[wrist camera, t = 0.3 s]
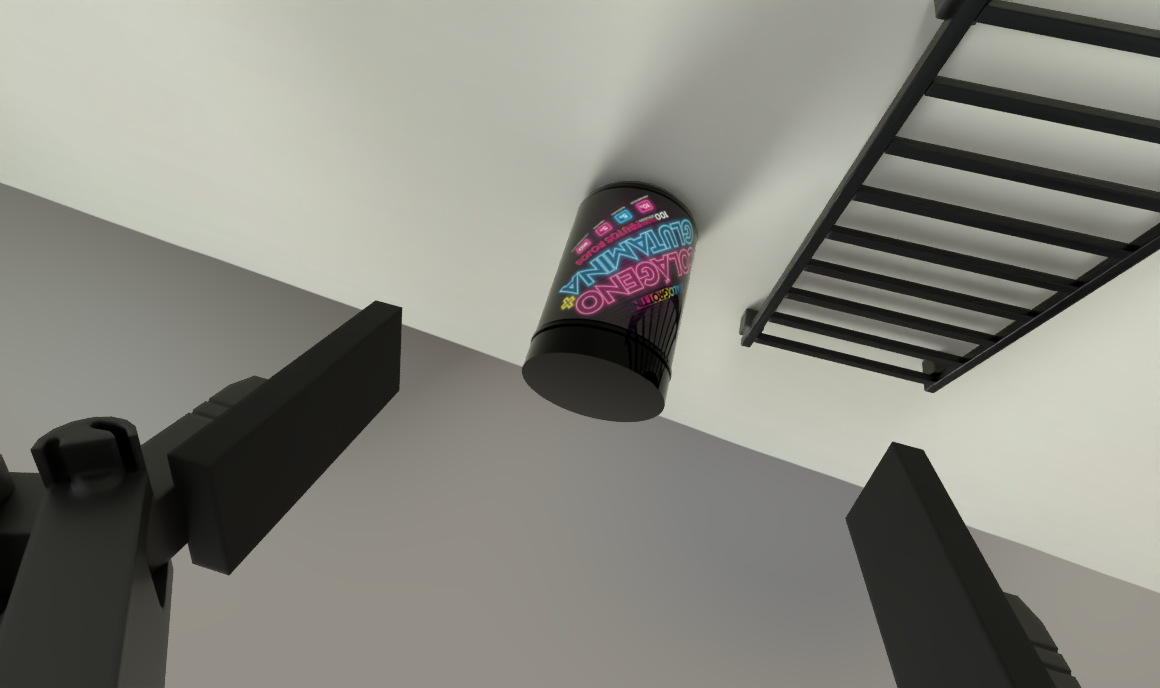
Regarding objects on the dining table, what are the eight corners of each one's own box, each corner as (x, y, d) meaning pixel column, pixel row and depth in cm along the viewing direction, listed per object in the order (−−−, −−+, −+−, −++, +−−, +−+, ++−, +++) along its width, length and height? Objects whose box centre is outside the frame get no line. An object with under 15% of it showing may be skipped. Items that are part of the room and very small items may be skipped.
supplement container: (724, 242, 30) (694, 418, 25) (626, 272, 34) (584, 425, 29) (654, 154, 26) (601, 341, 21) (554, 201, 30) (492, 364, 25)
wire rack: (966, -61, 16) (971, -29, 15) (1435, 24, 15) (1468, 64, 14) (739, 320, 35) (735, 344, 35) (937, 369, 34) (938, 394, 34)
